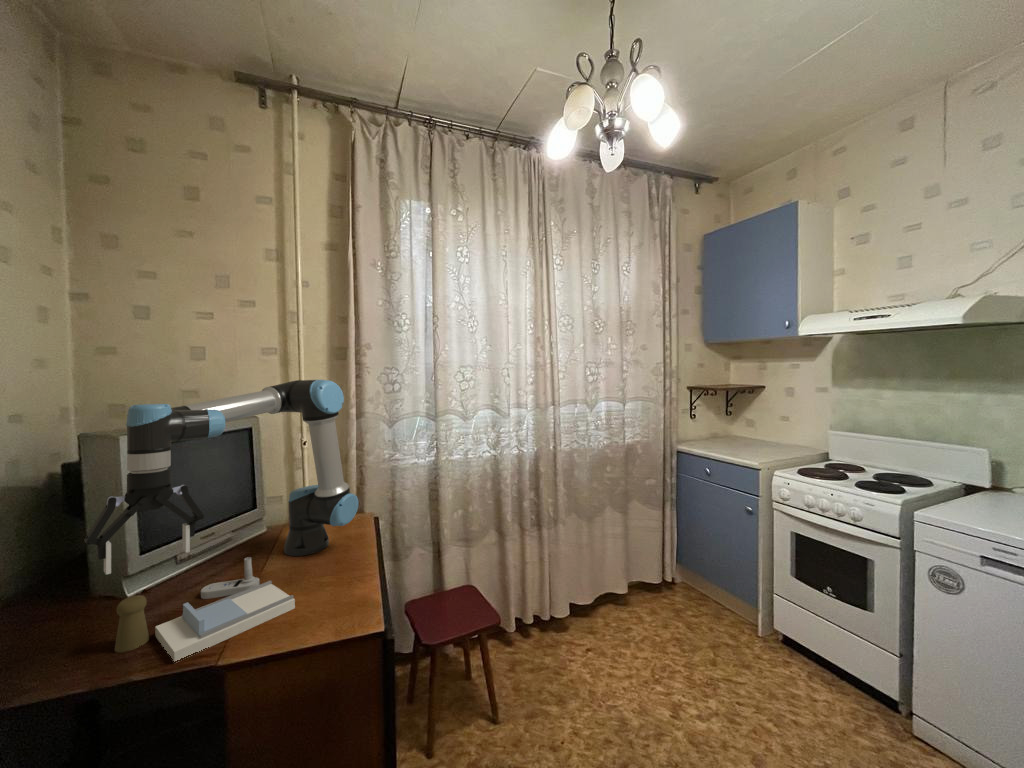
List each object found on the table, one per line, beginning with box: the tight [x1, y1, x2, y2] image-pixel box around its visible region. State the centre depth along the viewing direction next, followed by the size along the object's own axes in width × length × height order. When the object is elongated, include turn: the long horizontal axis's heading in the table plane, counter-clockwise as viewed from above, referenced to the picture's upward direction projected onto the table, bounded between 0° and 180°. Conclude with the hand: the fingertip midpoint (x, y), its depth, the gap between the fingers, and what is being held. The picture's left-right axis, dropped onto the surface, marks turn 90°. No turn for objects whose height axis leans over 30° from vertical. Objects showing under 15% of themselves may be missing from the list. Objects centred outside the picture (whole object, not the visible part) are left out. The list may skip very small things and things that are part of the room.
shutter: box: [182, 598, 247, 637], centre depth 100 cm, size 10×12×4 cm
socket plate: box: [154, 580, 296, 663], centre depth 102 cm, size 26×16×3 cm, turn 144°
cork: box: [113, 594, 150, 653], centre depth 94 cm, size 6×6×11 cm
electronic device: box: [200, 556, 261, 600], centre depth 117 cm, size 5×10×15 cm
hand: (149, 561), depth 90 cm, fingers open, 13 cm apart
